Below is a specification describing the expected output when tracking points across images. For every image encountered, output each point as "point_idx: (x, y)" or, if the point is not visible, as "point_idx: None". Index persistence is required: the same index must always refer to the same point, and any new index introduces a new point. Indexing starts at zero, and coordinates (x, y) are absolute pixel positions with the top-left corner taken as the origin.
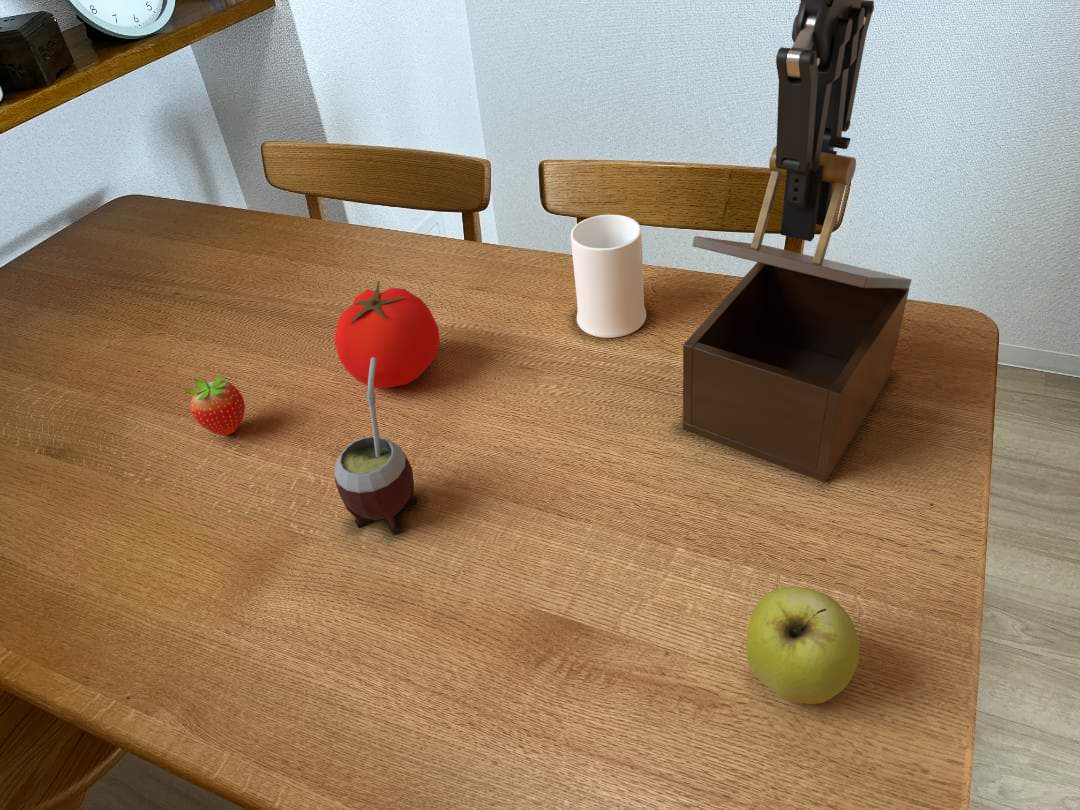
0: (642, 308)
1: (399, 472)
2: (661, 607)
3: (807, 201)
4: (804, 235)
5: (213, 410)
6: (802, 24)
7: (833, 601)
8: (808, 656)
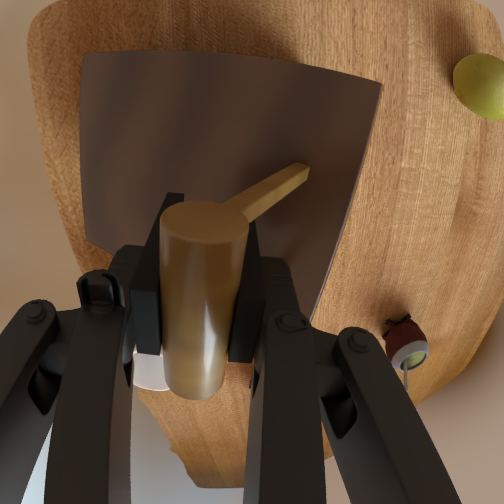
0: None
1: (416, 342)
2: (443, 163)
3: (262, 261)
4: None
5: None
6: None
7: (495, 74)
8: None
